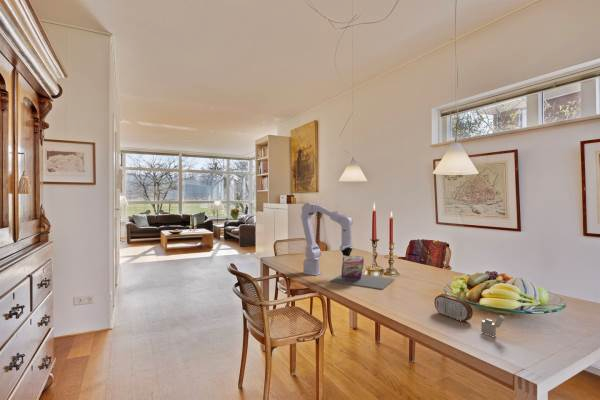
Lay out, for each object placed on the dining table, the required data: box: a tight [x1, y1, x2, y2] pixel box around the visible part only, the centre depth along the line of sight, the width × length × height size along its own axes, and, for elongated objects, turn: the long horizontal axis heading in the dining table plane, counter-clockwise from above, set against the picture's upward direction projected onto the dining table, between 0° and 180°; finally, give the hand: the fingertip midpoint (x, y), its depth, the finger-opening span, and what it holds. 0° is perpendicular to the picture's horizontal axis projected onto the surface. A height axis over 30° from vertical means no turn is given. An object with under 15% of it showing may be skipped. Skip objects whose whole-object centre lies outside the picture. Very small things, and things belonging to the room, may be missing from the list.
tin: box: [433, 293, 474, 322], centre depth 127 cm, size 15×3×8 cm, turn 32°
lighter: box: [480, 314, 506, 337], centre depth 110 cm, size 7×2×8 cm, turn 32°
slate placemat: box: [329, 274, 395, 291], centre depth 181 cm, size 30×22×1 cm
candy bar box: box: [340, 255, 365, 279], centre depth 179 cm, size 11×5×16 cm
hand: (346, 260), depth 186 cm, fingers closed
